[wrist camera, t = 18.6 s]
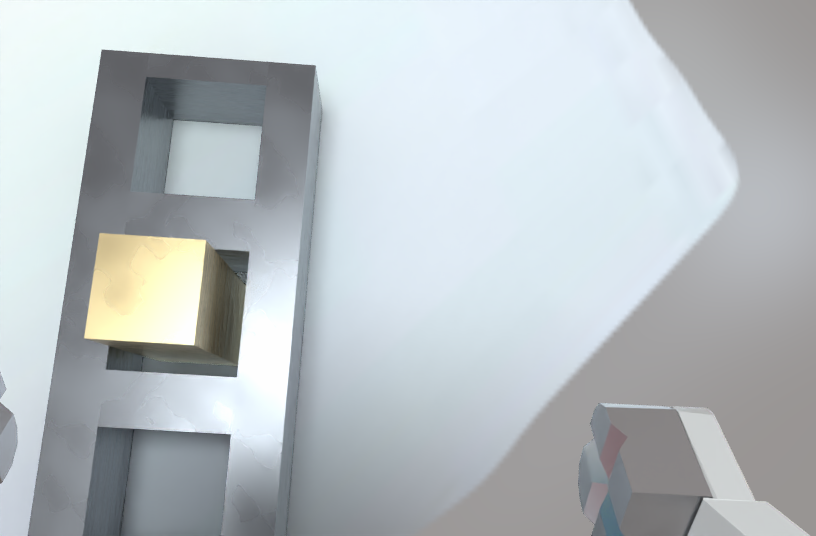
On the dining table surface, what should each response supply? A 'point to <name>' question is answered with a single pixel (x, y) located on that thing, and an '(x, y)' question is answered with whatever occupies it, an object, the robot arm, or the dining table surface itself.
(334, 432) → the dining table surface
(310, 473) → the dining table surface
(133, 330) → the brass peg
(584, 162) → the dining table surface
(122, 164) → the grey rectangular block
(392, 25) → the dining table surface
